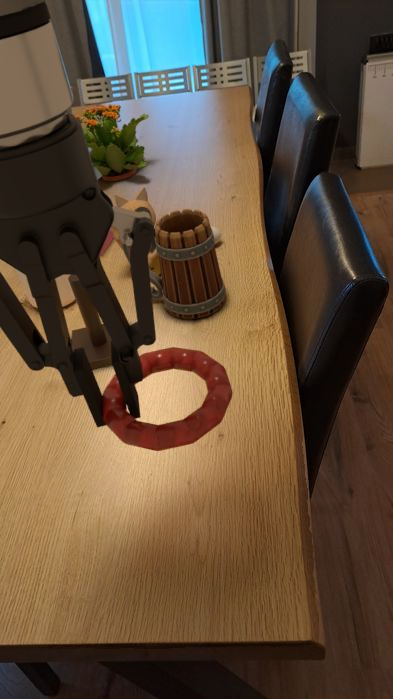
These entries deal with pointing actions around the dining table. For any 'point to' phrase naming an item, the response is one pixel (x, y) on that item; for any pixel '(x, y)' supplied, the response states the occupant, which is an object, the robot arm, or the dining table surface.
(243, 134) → the dining table surface
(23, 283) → the cup
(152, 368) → the ring
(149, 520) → the dining table surface
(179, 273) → the mug
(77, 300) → the stand
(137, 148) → the potted flower
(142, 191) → the figurine
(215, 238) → the egg
